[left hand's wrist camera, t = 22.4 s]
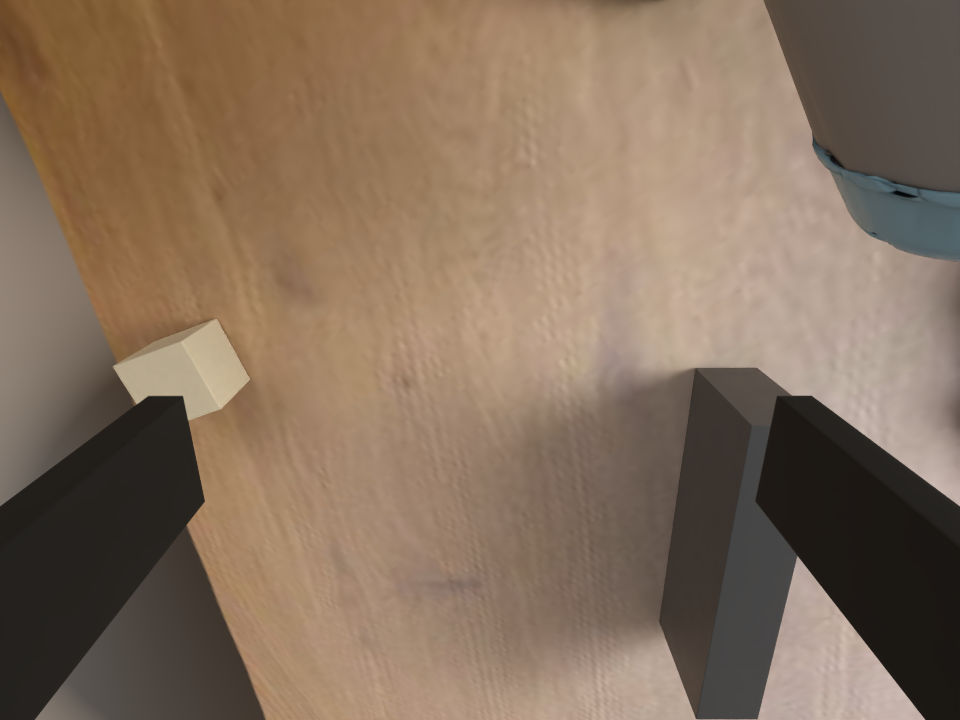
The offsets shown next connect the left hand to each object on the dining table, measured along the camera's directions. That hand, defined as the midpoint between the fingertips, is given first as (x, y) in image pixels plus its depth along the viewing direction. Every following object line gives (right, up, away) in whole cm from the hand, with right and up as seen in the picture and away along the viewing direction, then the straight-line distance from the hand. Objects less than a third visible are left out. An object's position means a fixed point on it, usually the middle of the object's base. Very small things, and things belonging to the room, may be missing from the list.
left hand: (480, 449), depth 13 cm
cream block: (-20, +2, +28) cm, 34 cm away
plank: (+18, -10, +32) cm, 38 cm away
